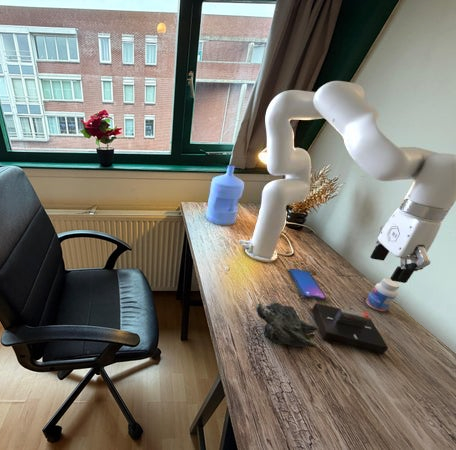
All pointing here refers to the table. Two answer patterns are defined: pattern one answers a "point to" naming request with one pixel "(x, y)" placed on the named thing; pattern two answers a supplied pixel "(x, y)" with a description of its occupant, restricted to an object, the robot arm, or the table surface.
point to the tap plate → (347, 331)
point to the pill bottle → (383, 294)
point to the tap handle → (352, 318)
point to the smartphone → (307, 284)
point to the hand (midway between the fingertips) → (386, 269)
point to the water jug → (224, 198)
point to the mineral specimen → (285, 325)
